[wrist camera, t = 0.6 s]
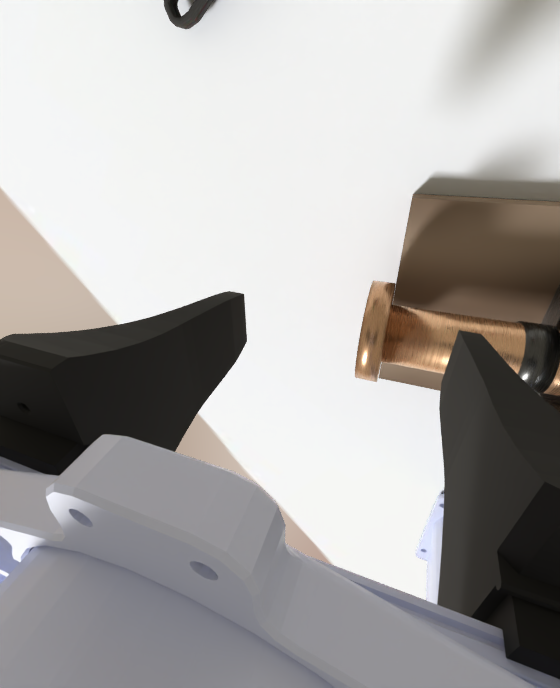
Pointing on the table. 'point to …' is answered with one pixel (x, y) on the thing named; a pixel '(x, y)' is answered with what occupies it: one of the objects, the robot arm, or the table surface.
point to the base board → (477, 263)
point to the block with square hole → (556, 316)
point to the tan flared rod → (451, 341)
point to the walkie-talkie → (190, 17)
